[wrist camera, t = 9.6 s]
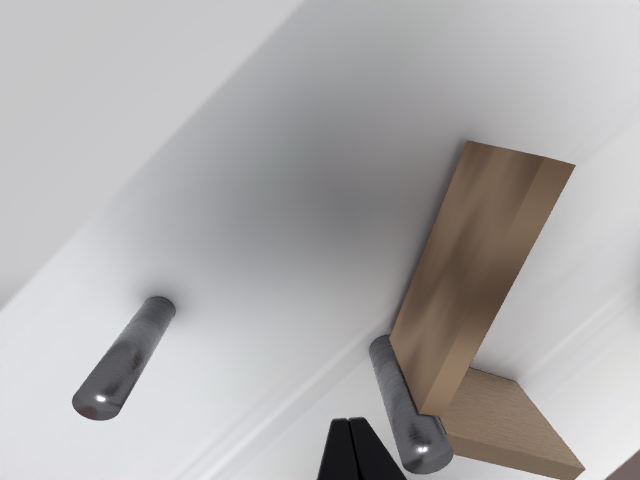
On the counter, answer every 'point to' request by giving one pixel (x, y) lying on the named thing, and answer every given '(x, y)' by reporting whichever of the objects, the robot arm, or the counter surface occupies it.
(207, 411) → the counter surface
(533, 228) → the gate leaf
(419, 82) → the counter surface
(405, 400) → the gate frame
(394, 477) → the robot arm
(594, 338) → the counter surface
